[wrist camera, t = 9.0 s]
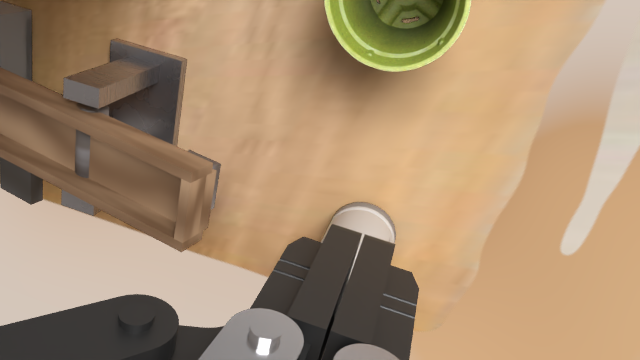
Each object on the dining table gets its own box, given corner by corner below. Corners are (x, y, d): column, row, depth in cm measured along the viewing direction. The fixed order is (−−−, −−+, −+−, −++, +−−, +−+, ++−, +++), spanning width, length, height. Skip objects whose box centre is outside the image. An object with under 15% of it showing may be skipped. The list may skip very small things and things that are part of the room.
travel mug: (317, 240, 54) (243, 387, 36) (350, 188, 51) (287, 321, 33) (372, 273, 54) (325, 437, 36) (408, 224, 51) (377, 376, 33)
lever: (14, 57, 50) (-41, 64, 45) (233, 153, 42) (192, 172, 38) (16, 169, 54) (-33, 185, 50) (213, 274, 47) (174, 303, 43)
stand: (117, 38, 51) (40, 59, 41) (187, 59, 50) (124, 84, 41) (109, 164, 56) (40, 206, 47) (172, 184, 55) (114, 232, 46)
